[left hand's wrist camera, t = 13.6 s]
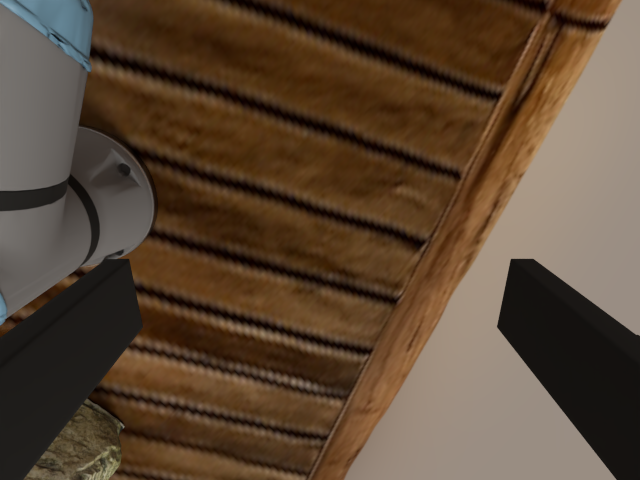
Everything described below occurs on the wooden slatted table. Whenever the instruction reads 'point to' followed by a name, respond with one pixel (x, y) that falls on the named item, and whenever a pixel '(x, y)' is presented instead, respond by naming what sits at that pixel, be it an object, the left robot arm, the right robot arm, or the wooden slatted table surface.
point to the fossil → (82, 448)
